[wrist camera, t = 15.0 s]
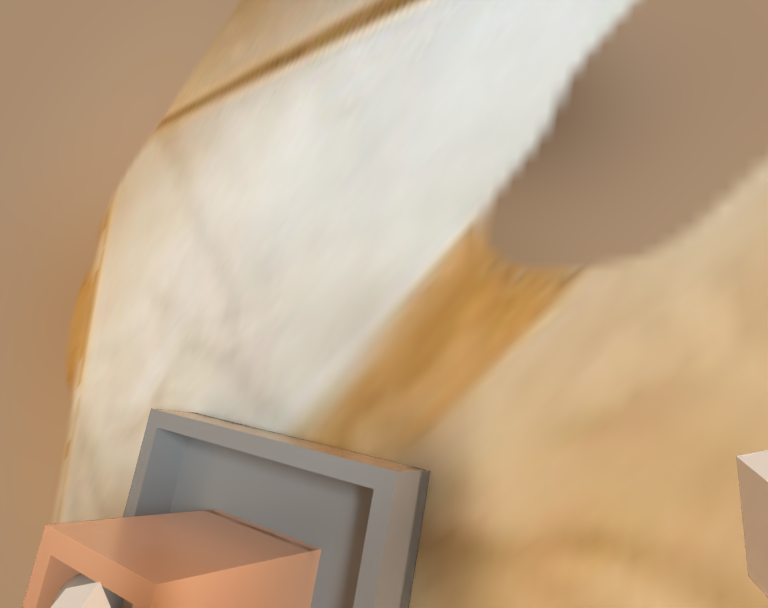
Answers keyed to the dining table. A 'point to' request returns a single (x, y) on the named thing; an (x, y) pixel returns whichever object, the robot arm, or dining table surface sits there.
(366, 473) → the slate dish
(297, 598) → the peach box
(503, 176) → the dining table surface
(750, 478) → the robot arm
